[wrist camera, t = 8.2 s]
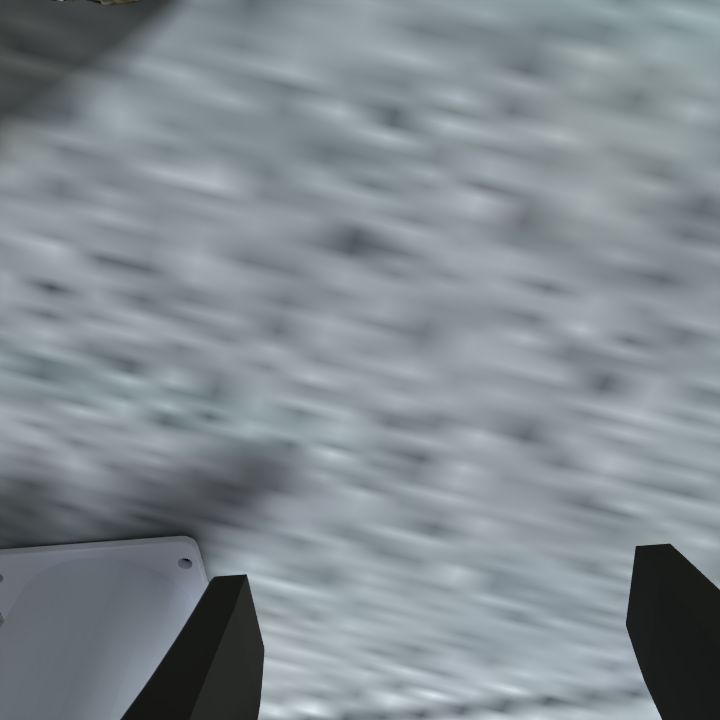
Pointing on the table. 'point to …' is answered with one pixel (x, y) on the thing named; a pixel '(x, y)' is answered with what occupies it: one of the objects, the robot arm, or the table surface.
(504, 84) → the table surface
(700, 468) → the table surface
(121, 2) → the cup
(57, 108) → the table surface
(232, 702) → the robot arm
